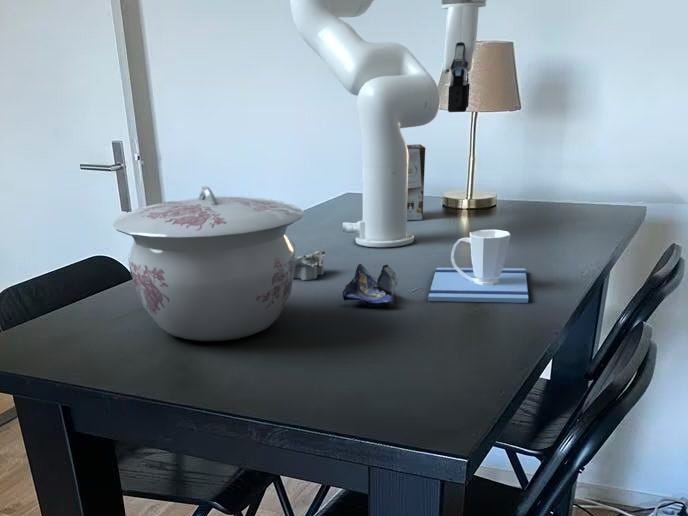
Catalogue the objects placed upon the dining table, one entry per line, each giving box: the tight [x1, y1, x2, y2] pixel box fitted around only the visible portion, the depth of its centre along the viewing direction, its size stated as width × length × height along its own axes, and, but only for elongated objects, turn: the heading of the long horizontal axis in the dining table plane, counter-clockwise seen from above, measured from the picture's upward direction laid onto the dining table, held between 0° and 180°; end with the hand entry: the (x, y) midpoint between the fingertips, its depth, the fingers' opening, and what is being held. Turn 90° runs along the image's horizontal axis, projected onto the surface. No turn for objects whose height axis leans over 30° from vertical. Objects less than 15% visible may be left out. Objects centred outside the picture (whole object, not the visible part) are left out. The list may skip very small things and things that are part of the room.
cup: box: [450, 229, 512, 285], centre depth 136 cm, size 7×10×8 cm
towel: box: [427, 267, 529, 304], centre depth 138 cm, size 16×20×1 cm
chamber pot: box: [112, 185, 304, 343], centre depth 117 cm, size 28×28×21 cm
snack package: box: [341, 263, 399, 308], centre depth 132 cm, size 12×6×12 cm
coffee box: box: [406, 143, 426, 221], centre depth 192 cm, size 9×6×16 cm
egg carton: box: [293, 250, 326, 281], centre depth 149 cm, size 11×8×4 cm
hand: (458, 109), depth 144 cm, fingers open, 9 cm apart
